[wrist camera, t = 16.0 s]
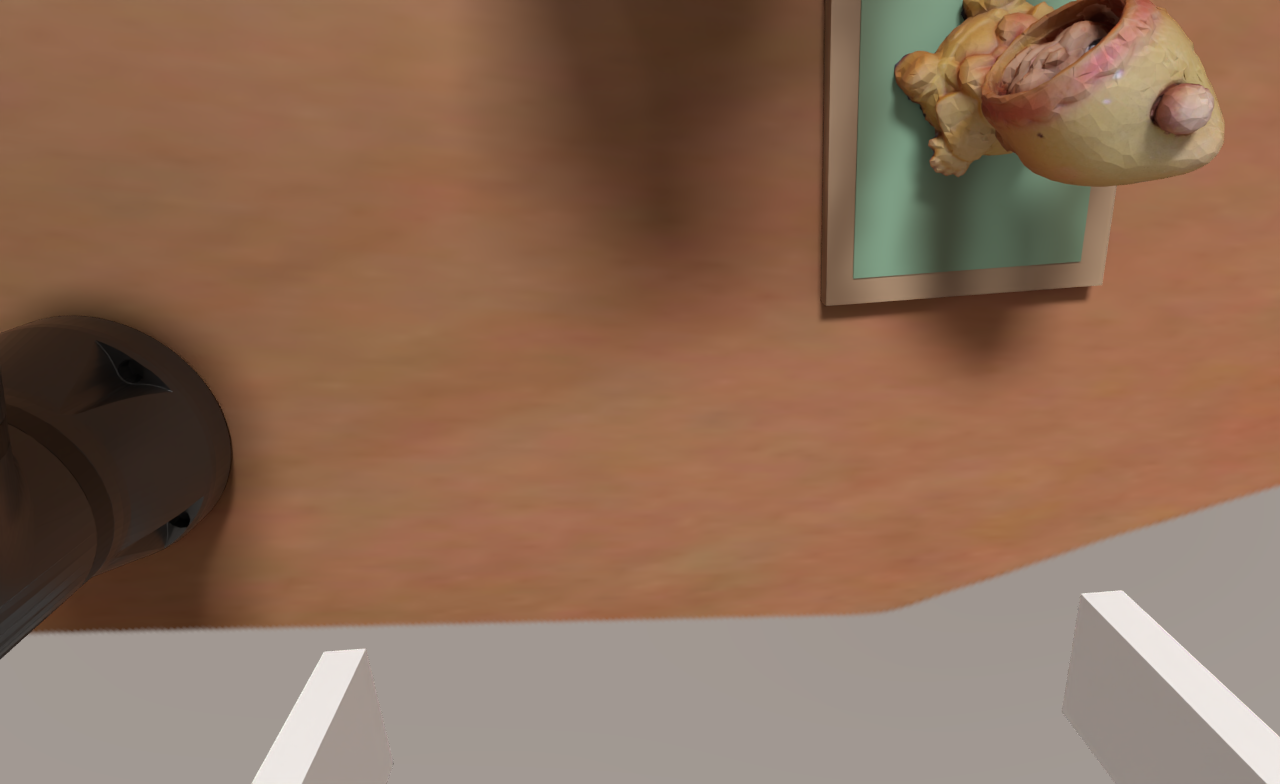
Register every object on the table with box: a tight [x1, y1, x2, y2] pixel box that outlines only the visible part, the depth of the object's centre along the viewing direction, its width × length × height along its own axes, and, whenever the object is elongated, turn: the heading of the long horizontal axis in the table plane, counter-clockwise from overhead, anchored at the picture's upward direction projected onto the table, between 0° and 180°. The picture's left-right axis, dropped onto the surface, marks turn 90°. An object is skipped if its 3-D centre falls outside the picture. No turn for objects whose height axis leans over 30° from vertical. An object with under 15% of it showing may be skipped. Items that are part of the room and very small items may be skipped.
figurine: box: [894, 0, 1225, 187], centre depth 33 cm, size 10×8×15 cm
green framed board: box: [821, 0, 1117, 306], centre depth 40 cm, size 16×22×1 cm
